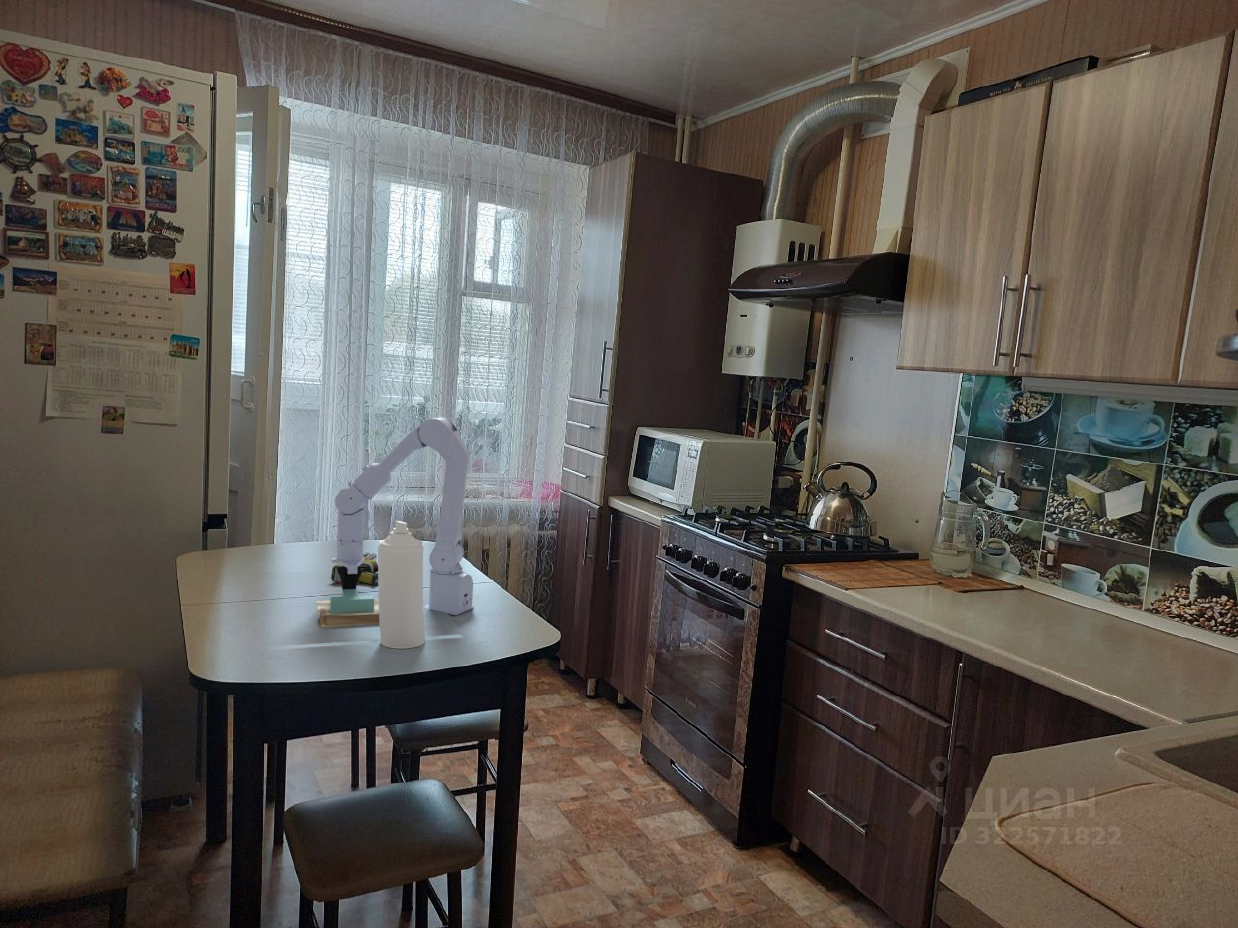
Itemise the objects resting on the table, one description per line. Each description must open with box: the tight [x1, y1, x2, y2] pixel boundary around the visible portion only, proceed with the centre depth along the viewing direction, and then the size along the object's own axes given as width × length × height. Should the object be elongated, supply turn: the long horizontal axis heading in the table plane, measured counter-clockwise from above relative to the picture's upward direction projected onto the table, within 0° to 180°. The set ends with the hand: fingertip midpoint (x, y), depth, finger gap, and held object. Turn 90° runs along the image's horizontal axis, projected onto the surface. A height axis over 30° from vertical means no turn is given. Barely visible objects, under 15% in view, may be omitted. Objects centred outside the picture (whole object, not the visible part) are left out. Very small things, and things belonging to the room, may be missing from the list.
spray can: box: [377, 520, 426, 650], centre depth 161 cm, size 12×11×25 cm
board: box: [315, 597, 380, 628], centre depth 180 cm, size 20×14×3 cm
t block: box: [329, 588, 375, 614], centre depth 183 cm, size 9×9×3 cm
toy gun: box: [330, 552, 378, 587], centre depth 214 cm, size 5×24×15 cm
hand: (348, 597), depth 188 cm, fingers closed
